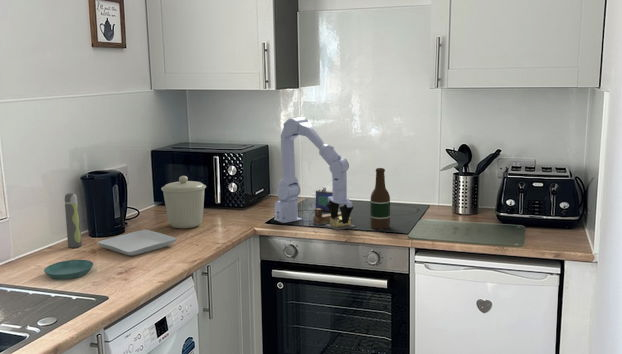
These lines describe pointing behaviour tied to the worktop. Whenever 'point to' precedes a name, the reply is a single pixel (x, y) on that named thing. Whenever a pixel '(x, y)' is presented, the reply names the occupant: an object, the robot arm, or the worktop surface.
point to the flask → (323, 199)
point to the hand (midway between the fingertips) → (339, 221)
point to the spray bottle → (72, 221)
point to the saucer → (68, 269)
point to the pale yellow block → (338, 222)
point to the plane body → (323, 217)
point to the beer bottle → (380, 203)
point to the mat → (340, 227)
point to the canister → (184, 202)
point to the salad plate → (137, 242)
